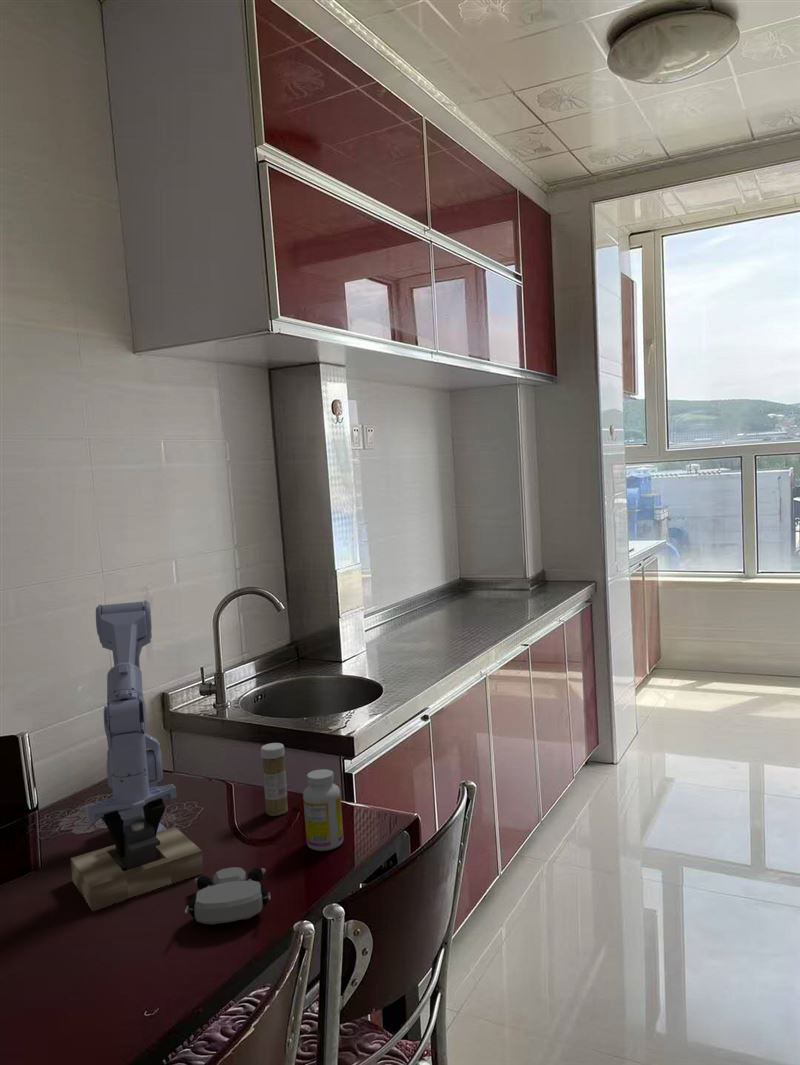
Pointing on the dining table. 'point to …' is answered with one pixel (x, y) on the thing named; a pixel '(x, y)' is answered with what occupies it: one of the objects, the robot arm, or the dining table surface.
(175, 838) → the tan slotted block
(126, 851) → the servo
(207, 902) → the robot toy
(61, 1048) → the dining table surface
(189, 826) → the dining table surface
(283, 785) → the sprinkles bottle
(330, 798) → the supplement bottle
